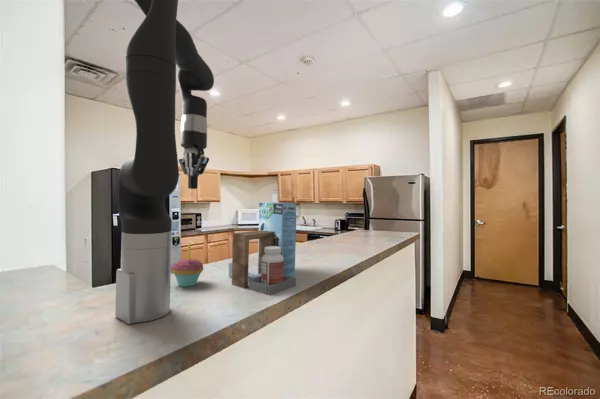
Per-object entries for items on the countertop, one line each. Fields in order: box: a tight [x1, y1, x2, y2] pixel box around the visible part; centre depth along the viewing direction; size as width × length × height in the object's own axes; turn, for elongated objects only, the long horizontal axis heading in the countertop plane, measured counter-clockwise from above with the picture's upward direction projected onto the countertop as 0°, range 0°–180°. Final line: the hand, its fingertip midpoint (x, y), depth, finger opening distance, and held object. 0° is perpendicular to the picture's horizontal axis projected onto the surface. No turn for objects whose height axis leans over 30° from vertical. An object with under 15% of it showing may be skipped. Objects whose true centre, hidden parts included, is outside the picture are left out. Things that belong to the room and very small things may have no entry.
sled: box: [228, 262, 261, 283], centre depth 87 cm, size 13×8×4 cm, turn 53°
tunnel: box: [231, 230, 274, 289], centre depth 85 cm, size 5×12×14 cm, turn 143°
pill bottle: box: [261, 246, 284, 286], centre depth 81 cm, size 6×6×11 cm
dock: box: [248, 276, 297, 296], centre depth 81 cm, size 11×8×2 cm
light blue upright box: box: [257, 201, 297, 278], centre depth 94 cm, size 20×5×23 cm, turn 29°
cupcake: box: [171, 242, 204, 288], centre depth 81 cm, size 9×8×12 cm
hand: (192, 188), depth 89 cm, fingers closed
